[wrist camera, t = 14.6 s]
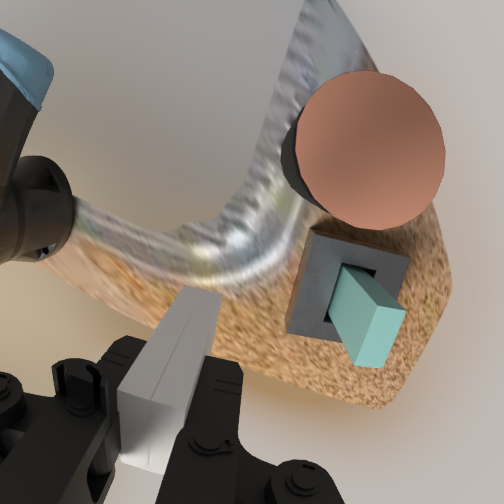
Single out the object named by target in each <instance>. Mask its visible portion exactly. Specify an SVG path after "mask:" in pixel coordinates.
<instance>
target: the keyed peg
mask: <svg viewBox="0 0 504 504" xmlns="http://www.w3.org/2000/svg"><path fill="white" fill-rule="evenodd" d="M327 312H328V314H329V316H330V318H331V320H332V322H333V324H334V326H335V328H336V330H337V332H338V334H339V336H340V338H341V340H342V342H343V344H344V346H345V348H346V350H347V352H348V354H349V356H350V358H351V361H352V363H353V365H355V366H364V367H374V368H382V367H383V365H384V363H385V361H386V358H387V356H388V354H389V352H390V349H391V347H392V345H393V342H394V340H395V338H396V335H397V333H398V331H399V328H400V326H401V323H402V321H403V318H404V316H405V313H406V310H405V309H404V308H403V307H402V306H401V305H400V304H399V303H398V302H397V301H396V300H395V299H394V298H393V297H392V296H391V295H390V294H389V293H388V292H387V291H386V290H385V289H384V288H383V287H382V286H381V285H380V284H379V283H377V282H376V281H375V280H374V279H373V278H372V277H371V276H370V275H369V274H368V273H367V272H366V271H365V270H364V269H363V268H362V267H360V266H356V265H352V264H347V263H343V262H342V263H341V266H340V270H339V273H338V276H337V280H336V283H335V286H334V289H333V292H332V296H331V299H330V302H329V305H328V308H327Z"/></svg>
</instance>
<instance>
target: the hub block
mask: <svg viewBox="0 0 504 504" xmlns="http://www.w3.org/2000/svg"><path fill="white" fill-rule="evenodd" d="M409 260H410V258H409V257H407V256H406V255H404V254H403V253H401V252H399V251H398V250H395V249H391V248H387V247H383V246H379V245H376V244H372V243H368V242H364V241H360V240H356V239H352V238H348V237H344V236H340V235H336V234H332V233H328V232H324V231H320V230H316V229H312V228H309V231H308V235H307V239H306V243H305V247H304V250H303V254H302V258H301V262H300V265H299V269H298V273H297V276H296V280H295V284H294V287H293V291H292V294H291V298H290V302H289V305H288V309H287V312H286V315H285V324H286V332H287V333H290V334H295V335H300V336H306V337H311V338H317V339H323V340H329V341H335V342H341V343H343V342H342V340H341V338H340V336H339V334H338V332H337V330H336V328H335V326H334V324H333V322H332V320H331V318H330V316H329V314H328V312H327V308H328V305H329V302H330V299H331V296H332V292H333V289H334V286H335V283H336V280H337V276H338V273H339V270H340V266H341V263H342V262H343V263H347V264H352V265H356V266H360V267H364V270H365V271H366V272H367V273H368V274H369V275H370V276H371V277H372V278H373V279H374V280H375V281H376V282H377V283H379V284H380V285H381V286H382V287H383V288H384V289H385V290H386V291H387V292H388V293H389V294H390V295H391V296H392V297H393V298H394V299H395V300H396V299H397V296H398V293H399V290H400V287H401V285H402V282H403V279H404V276H405V273H406V270H407V266H408V263H409Z"/></svg>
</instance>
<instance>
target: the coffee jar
mask: <svg viewBox="0 0 504 504" xmlns="http://www.w3.org/2000/svg"><path fill="white" fill-rule="evenodd" d="M281 165H282V169H283V173H284V176H285V177H286V179H287V181H288V182H289V184H290V186H291V187H292V188H293V189H294V190H295V191H296V192H297V193H298V194H299V195H300V196H302V197H303V198H304V199H306V200H308V201H309V202H311V203H313V204H314V205H316V206H317V207H319V208H320V209H322V210H324V211H325V212H327V213H329V214H331V215H333V216H334V217H335V218H338V219H340V220H342V221H344V222H346V223H348V224H350V225H352V226H354V227H357V228H365V229H374V230H383V229H388V228H392V227H397V226H401V225H403V224H405V223H407V222H408V221H410V220H411V219H413V218H415V217H416V216H418V215H419V214H421V213H422V212H423V211H424V209H425V208H426V207H427V206H428V205H429V203H430V202H431V201H432V200H433V198H434V197H435V196H436V193H437V191H438V188H439V186H440V183H441V180H442V177H443V175H444V166H445V146H444V141H443V136H442V131H441V127H440V125H439V123H438V121H437V119H436V117H435V115H434V114H433V111H432V110H431V108H430V106H429V105H428V104H427V103H426V102H425V100H424V99H423V98H422V97H421V96H420V95H419V94H418V93H417V92H416V91H415V90H414V89H413V88H412V87H410V86H408V85H407V84H405V83H403V82H402V81H400V80H399V79H397V78H395V77H393V76H390V75H386V74H382V73H378V72H374V71H357V72H347V73H344V74H342V75H340V76H338V77H335V78H333V79H331V80H329V81H327V82H325V83H324V84H323V85H322V86H321V87H320V88H319V89H318V90H317V91H316V92H315V93H314V94H313V95H312V96H311V97H310V98H309V99H308V101H307V103H306V105H305V106H304V107H303V108H302V110H301V111H300V113H299V115H298V116H297V118H296V119H295V121H294V123H293V124H292V126H291V128H290V129H289V131H288V132H287V135H286V137H285V139H284V142H283V144H282V149H281Z"/></svg>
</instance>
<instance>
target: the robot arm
mask: <svg viewBox="0 0 504 504" xmlns="http://www.w3.org/2000/svg"><path fill="white" fill-rule="evenodd" d="M53 76H54V69H53V65H52V63H51V62H50V61H49V59H48V58H46V57H45V56H44V55H42V54H41V53H40V52H38V51H36V50H35V49H34V48H32V47H31V46H29V45H28V44H26V43H24V42H23V41H21V40H20V39H18V38H16V37H14V36H13V35H11V34H9V33H8V32H6V31H4V30H2V29H0V265H1V264H3V263H5V262H7V261H23V262H37V261H41V260H44V259H46V258H48V257H50V256H52V255H54V254H56V253H57V252H58V251H59V250H60V249H61V248H62V247H63V245H64V244H65V242H66V240H67V238H68V236H69V234H70V231H71V227H72V222H73V213H74V207H73V197H72V192H71V188H70V185H69V182H68V180H67V178H66V176H65V174H64V172H63V171H62V170H61V168H60V167H59V166H58V165H57V164H56V163H55V162H54V161H52V160H51V159H49V158H46V157H43V156H25V157H21V158H19V157H20V154H21V151H22V149H23V146H24V144H25V141H26V139H27V136H28V134H29V131H30V129H31V127H32V124H33V122H34V120H35V118H36V116H37V113H38V111H40V110H41V108H42V107H41V104H42V102H43V100H44V97H45V95H46V93H47V90H48V88H49V86H50V84H51V82H52V79H53ZM222 295H223V294H221V293H217V292H212V291H208V290H204V289H199V288H195V287H191V286H187V285H184V287H183V288H182V290H181V291H180V293H179V294H178V296H177V297H176V299H175V300H174V302H173V303H172V305H171V306H170V308H169V309H168V311H167V312H166V314H165V315H164V317H163V318H162V320H161V321H160V323H159V324H158V326H157V327H156V329H155V331H154V332H153V334H152V335H151V337H150V338H149V340H148V341H145V340H141V339H138V338H135V337H131V336H128V335H126V336H124V337H122V338H120V339H118V340H116V341H114V342H113V344H112V345H111V346H110V347H109V349H108V350H107V352H105V353H104V355H103V356H102V357H101V360H99V361H98V362H97V363H94V362H92V361H89V360H85V359H80V358H69V359H65V360H61V361H58V362H57V363H55V364H54V365H53V366H52V374H53V381H54V387H55V392H56V395H55V396H54V397H46V396H40V395H34V394H30V393H25V392H23V388H22V384H21V383H20V381H19V380H18V379H17V378H16V377H14V376H13V375H11V374H9V373H5V372H0V504H103V503H104V500H105V498H106V495H107V493H108V491H109V488H110V486H111V484H112V482H113V479H114V476H115V465H114V464H115V462H116V460H117V457H118V455H119V453H120V455H121V462H123V463H126V464H129V465H132V466H135V467H138V468H142V469H145V470H148V471H152V472H155V473H158V474H162V475H164V477H163V480H162V483H161V486H160V489H159V493H158V496H157V499H156V503H155V504H345V503H344V501H343V499H342V497H341V495H340V493H339V491H338V489H337V487H336V485H335V483H334V481H333V479H332V477H331V476H330V475H329V473H328V472H327V471H326V470H325V469H324V468H322V467H321V466H319V465H318V464H316V463H313V462H309V461H307V460H295V459H294V460H290V461H285V462H283V463H281V464H280V465H278V466H275V465H272V464H270V463H267V462H265V461H262V460H260V459H258V458H256V457H254V456H252V455H251V454H250V453H249V452H247V451H246V450H245V449H244V448H243V446H242V445H241V443H240V441H239V438H238V424H239V414H240V404H241V394H242V384H243V371H242V370H241V368H240V366H239V364H238V362H234V361H229V360H224V359H220V358H215V357H211V356H210V354H211V350H212V345H213V340H214V335H215V330H216V325H217V320H218V315H219V310H220V305H221V300H222Z"/></svg>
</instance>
